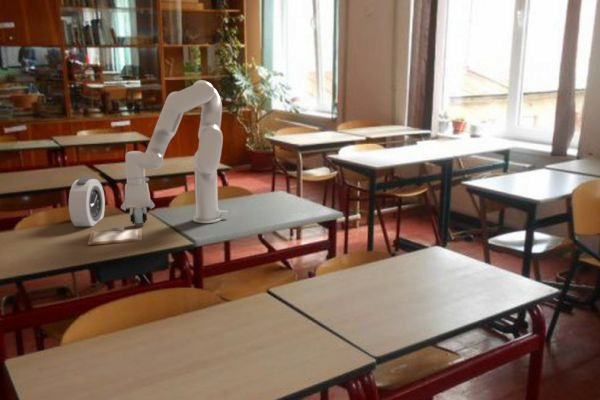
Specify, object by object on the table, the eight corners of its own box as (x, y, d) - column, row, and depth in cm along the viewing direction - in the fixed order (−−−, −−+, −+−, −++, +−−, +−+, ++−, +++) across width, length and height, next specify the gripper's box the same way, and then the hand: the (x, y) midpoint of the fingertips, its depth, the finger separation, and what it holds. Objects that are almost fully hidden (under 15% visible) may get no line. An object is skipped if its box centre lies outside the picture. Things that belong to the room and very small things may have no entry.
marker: (144, 224, 246) (142, 202, 244) (144, 227, 242) (142, 204, 240) (134, 225, 245) (132, 203, 242) (134, 228, 241) (132, 205, 239)
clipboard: (141, 229, 239) (141, 226, 239) (141, 241, 224) (141, 237, 224) (91, 233, 234) (90, 229, 234) (87, 244, 219) (87, 241, 219)
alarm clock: (88, 229, 239) (83, 183, 234) (71, 229, 239) (65, 183, 234) (106, 214, 259) (102, 172, 254) (90, 215, 260) (85, 172, 255)
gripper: (156, 178, 244) (158, 219, 249) (115, 180, 240) (118, 221, 244) (157, 181, 237) (159, 223, 242) (115, 183, 233) (118, 226, 237)
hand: (138, 222), depth 243 cm, fingers closed on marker, 3 cm apart
